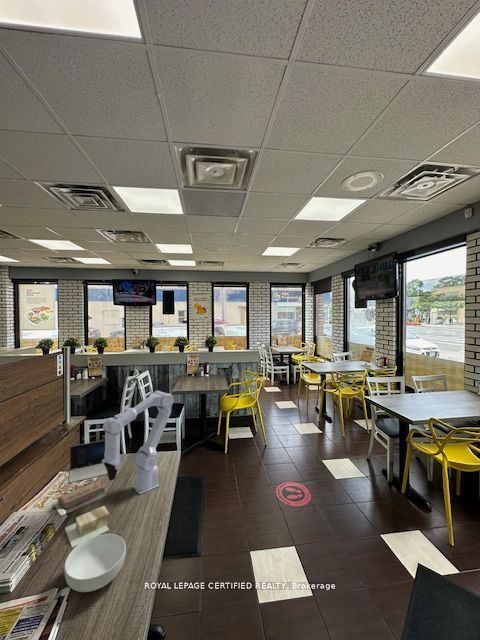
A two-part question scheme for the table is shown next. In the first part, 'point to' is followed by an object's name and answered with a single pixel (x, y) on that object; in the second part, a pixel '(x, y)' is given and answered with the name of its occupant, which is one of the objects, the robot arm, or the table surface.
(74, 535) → the mat
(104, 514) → the birch block
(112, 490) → the table surface
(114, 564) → the cereal bowl
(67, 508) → the packaged product
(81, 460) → the laptop
